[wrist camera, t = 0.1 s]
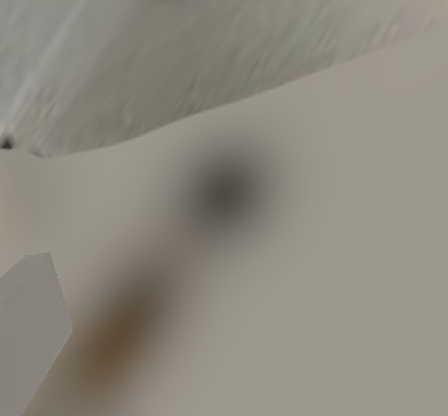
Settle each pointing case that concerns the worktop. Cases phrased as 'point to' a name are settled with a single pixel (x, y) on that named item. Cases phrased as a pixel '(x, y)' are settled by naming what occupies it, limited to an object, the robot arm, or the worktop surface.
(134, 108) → the worktop surface
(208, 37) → the worktop surface
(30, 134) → the worktop surface
